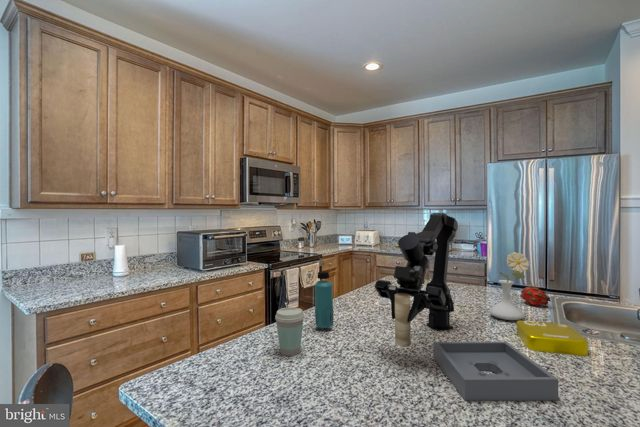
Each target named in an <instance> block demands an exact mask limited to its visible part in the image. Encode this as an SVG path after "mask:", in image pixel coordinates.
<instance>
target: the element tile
mask: <svg viewBox="0 0 640 427" xmlns="http://www.w3.org/2000/svg"><path fill="white" fill-rule="evenodd" d="M516 334H517V336H518V337H519V339H520V341H521V342H522V343H523V344H524V346H525V347H526V348H527V349H528V350H531V351H535V352H544V353H552V354H561V355H562V354H563V355H569V356H570V355H571V356H581V357H586V356H588V355H589V341H588V339H587V338H585V337H584V336H583V335H582V334H580V333H579V331H577V330H575V329H574V328H573V327H572V326H570V325H569V324H566V323H558V322H557V323H556V322H546V321H545V322H544V321H532V320H522V319H519V320H516Z"/></svg>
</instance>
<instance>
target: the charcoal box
mask: <svg viewBox="0 0 640 427" xmlns="http://www.w3.org/2000/svg"><path fill="white" fill-rule="evenodd" d="M433 359H434V360H435V361H436V363H437V365H438V366H439V368H441V370H442V371H443V373H444V374H445V376H446V377H447V379H448V380H449V381H450V382H451V384H452V385H453V387H454V388H455V389H456V391H457V392H458V393H459V395H460V396H461V397H462V398H463V400H464V401H559V379H558V378H557V377H556V376H554V375H553V374H552V373H550V372H549V371H548V370H546V369H545V368H543V367H542V366H541V365H540V364H538V363H537V362H535V361H534V360H532V359H531V358H530V357H529V356H527V355H526V354H524V353H523V352H521V350H520V349H517V348H516V347H514V346H513V345H512V344H510V342H508V341H433ZM485 372H492V373H485Z"/></svg>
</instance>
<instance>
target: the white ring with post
mask: <svg viewBox="0 0 640 427" xmlns="http://www.w3.org/2000/svg"><path fill="white" fill-rule="evenodd" d="M379 303H381V304H382V305H380V304H379ZM388 304H390V305H388ZM374 305H376V306H377V307H384V308H385V307H386V308H387V307H388V308H391V301H389V298H382V297H380V298H379V301H376V302H375V304H374Z"/></svg>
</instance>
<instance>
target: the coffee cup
mask: <svg viewBox="0 0 640 427" xmlns="http://www.w3.org/2000/svg"><path fill="white" fill-rule="evenodd" d="M304 314H305V313H304V312H303V309H301V308H299V307H291V306H288V307H283V308H279V309H278V310H277V311H276V314H275V316H274V317H275V318H274V320H275V321H276V328H277V337H278V344H279V345H278V346H279V353H280V354H281V355H283V356H286V357H293V356H297V355H298V354H299V353H300V352H301V346H302V337H303V326H304V318H305V315H304Z"/></svg>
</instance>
